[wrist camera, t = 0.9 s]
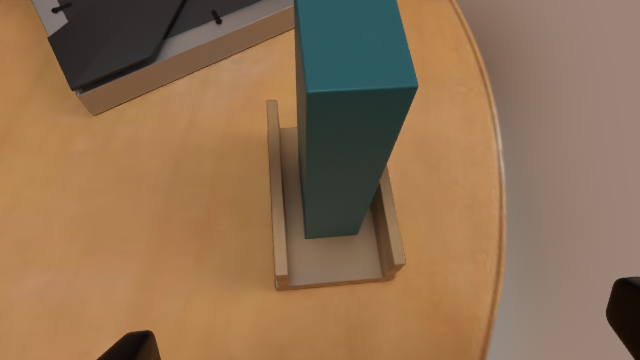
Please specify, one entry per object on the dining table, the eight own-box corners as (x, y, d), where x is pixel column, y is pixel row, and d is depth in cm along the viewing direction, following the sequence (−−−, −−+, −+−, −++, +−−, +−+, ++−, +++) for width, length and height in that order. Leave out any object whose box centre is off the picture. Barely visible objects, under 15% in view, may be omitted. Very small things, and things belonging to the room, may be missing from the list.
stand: (393, 280, 22) (410, 263, 18) (276, 291, 21) (270, 276, 18) (366, 130, 26) (376, 93, 22) (268, 137, 26) (262, 100, 22)
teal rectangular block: (357, 235, 22) (419, 86, 10) (305, 239, 22) (305, 92, 10) (346, 157, 24) (387, -39, 12) (298, 161, 24) (292, -37, 12)
